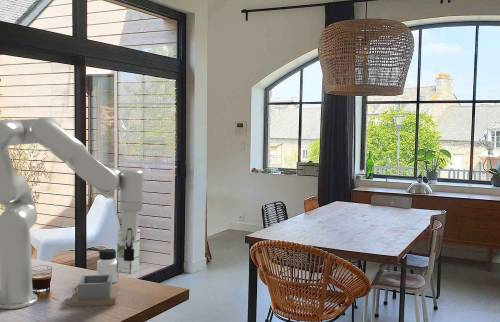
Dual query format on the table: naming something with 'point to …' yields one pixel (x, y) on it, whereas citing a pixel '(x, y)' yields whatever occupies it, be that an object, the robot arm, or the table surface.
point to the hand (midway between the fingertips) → (129, 257)
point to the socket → (95, 291)
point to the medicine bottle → (107, 263)
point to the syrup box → (122, 265)
